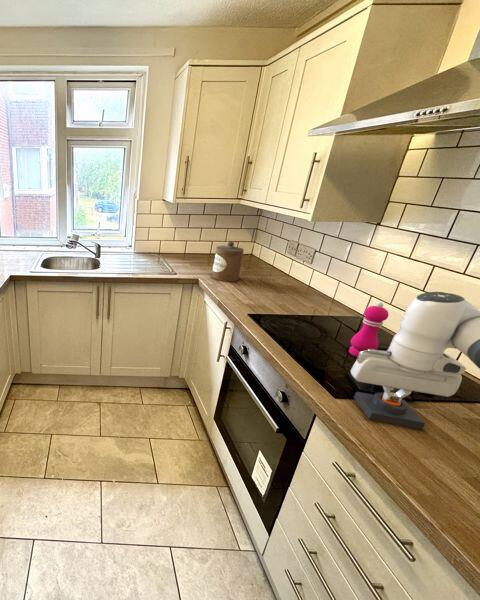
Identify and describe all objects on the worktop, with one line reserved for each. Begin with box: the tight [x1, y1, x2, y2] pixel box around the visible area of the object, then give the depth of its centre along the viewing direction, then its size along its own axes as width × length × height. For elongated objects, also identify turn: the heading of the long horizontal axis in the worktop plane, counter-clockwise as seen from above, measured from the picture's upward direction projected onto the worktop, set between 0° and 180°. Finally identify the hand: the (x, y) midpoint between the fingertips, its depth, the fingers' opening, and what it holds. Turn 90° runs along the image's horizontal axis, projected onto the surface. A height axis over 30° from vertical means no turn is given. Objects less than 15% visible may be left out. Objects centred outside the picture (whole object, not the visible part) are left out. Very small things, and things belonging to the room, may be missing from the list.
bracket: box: [346, 345, 413, 403], centre depth 92 cm, size 12×9×13 cm
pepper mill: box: [348, 301, 389, 358], centre depth 108 cm, size 7×7×20 cm
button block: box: [353, 391, 426, 430], centre depth 84 cm, size 11×9×4 cm
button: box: [382, 397, 401, 406], centre depth 83 cm, size 4×4×2 cm
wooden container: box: [211, 241, 244, 282], centre depth 187 cm, size 15×15×22 cm
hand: (390, 399), depth 83 cm, fingers closed, pressing on button
